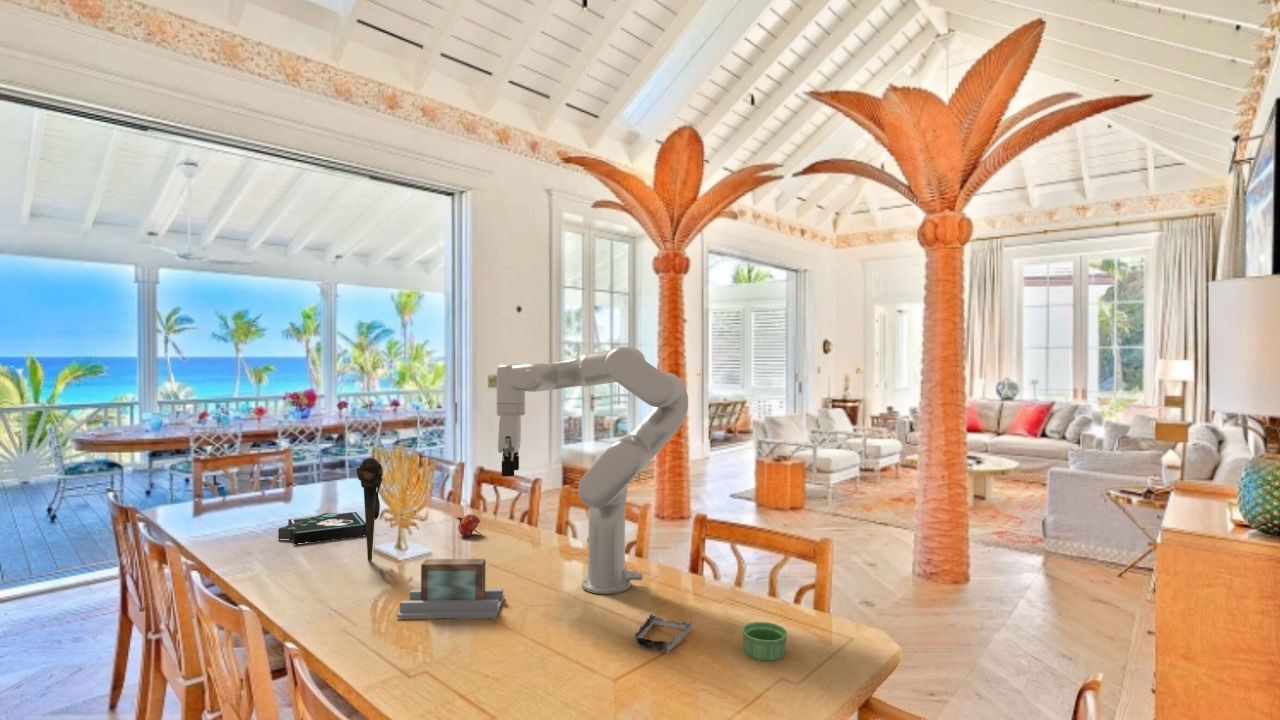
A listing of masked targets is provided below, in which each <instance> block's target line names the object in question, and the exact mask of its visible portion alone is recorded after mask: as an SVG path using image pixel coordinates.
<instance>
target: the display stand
mask: <svg viewBox="0 0 1280 720" xmlns="http://www.w3.org/2000/svg"><path fill="white" fill-rule="evenodd" d="M504 600H505V594H504V588H485V600H421V589H411V590H410V591H409V600H401V601H400V602H399V612H398V613H397V615H396V619H397V618H411V619H410V620H434V619H433V618H440V619H439V620H442V619H441V618H455V619H457V618H458V620H459V619H462V620H463V619H496V618H497V616H498V614H499V612H500V609H501V608H500V607H502V605H503V603H504ZM412 618H414V619H412ZM415 618H417V619H415ZM419 618H421V619H419ZM428 618H429V619H428ZM431 618H432V619H431Z"/></svg>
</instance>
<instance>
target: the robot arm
mask: <svg viewBox="0 0 1280 720" xmlns="http://www.w3.org/2000/svg"><path fill="white" fill-rule="evenodd" d="M614 383H617V384H619V385H620V386H622V387H623V388H625V389H626V390H627V391H628V392H630V393H631V394H632V395H634V396H636V397H637V398H638V399H640V400H641V401H642V402H643V403H646V404H647V405H648V406H651V407H653V408H652V409H651V410H650V412H649V413H648V414H647V415H645V417H643V419H642V420H641V421H640V423H639V424H638V425H637V426H636V427H635V428H634V429H633V430H632V431H631V432H630V433H628V434H627V435H626V436H624V437H622V438H620V439H618V440H616V441H614V442H613V443H612V444H611V445H609V447H608V448H607V449H606V450H605V451H604V452H603V453H602V454H601V456H600V457H598V459H597V460H596V461H595V462H594V463H593V464H592V466H591V467H589V468H588V469H587V471H586V472H585V473H584V475H583V474H582V477H581V478H580V481H579V483H578V489H577V492H578V495H579V499H580V501H581V502H582V503H583V504H584V505H585V506H586V507H588V508H589V509H588V538H587V539H588V540H587V541H588V543H587V545H588V546H587V548H588V549H587V553H588V556H587V557H588V559H587V560H588V561H587V562H588V563H587V564H588V565H587V566H588V567H587V577H585V578H584V579H582V581H581V586H582V588H583V590H585V591H587V592H589V593H593V594H599V595H612V594H614V595H615V594H619V593H622V592H625V591H627V590H628V589H630V587H631V583H632V582H631V581H643V572H640V571H638V570H629V569H627V565H626V564H625V563H626V508H627V507H626V506H627V497H628V485H629V484H630V483H631V482H632V481H633V480H634V478H635V477H636V476H637V475H638V474H639V473H641V472H642V471H644V470H645V469H646V468H647V467H648V465H649V464H650V462H652V460H653V459H654V458H655V456H656V455H657V454H658V453H659V452H661V450H662V449H663V448H664V447H665V446H666V444H667V443H668V442H669V440H671V439H672V438H673V436H674V435H675V434H676V433H677V431H678V430H679V429H680V428H681V426H682V425H683V423H684V421H685V419H686V416H687V413H688V408H689V395H688V392H687V388H686V386H685V383H684V382H683V380H682V379H681V378H680V377H679V376H677V375H676V374H673V373H672V372H663V371H661V370H659V369H658V368H656V367H655V366H653V365H652V364H650V363H649V362H648V361H646V358H645V356H644V354H643V352H641V350H639V349H637V348H635V347H631V346H630V347H628V346H620V347H616V348H614V349H610V350H605V351H604V350H603V351H597V352H590V353H584V354H580V355H579V356H578V357H576V358H572V359H568V360H562V361H558V362H557V361H556V362H548V363H528V364H515V363H514V364H513V363H512V364H511V363H509V364H508V363H505V364H500V365H498V367H497V369H496V416H498V417H499V420H498V437H497V438H498V439H497V440H498V441H497V452H498V453H499V454H501V453H502V454H501V455H502V457H501V477H514V476H515V471H519V469H520V455H519V453H520V452H519V450H520V448H521V440H522V439H521V436H522V435H521V433H522V428H521V427H522V425H521V424H522V423H521V422H522V416H525V415H526V392H531V393H536V392H545V391H548V392H549V391H553V390H561V389H567V388H573V387H584V388H585V387H591V386H592V387H593V386H598V385H605V384H614Z"/></svg>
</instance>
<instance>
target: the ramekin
mask: <svg viewBox="0 0 1280 720" xmlns="http://www.w3.org/2000/svg"><path fill="white" fill-rule="evenodd" d="M741 632H742V636H743V648H744V649H743V650H744V653H745V654H746V655H747V656H748V655H749V656H748V657H750V658H752V659H754V660H757V659H758V660H757V661H762V660H763V662H774V661H773V660H775V661H779V660H781V659H782V658H783V657H784V656H785V654H786V653H785V652H786V643H787V639H788V631H787V630H786V629H785V628H784V627H783V626H781V625H779V624H776V623H772V622H765V621H758V622H757V621H755V622H749V623H747V624H745V625H744V626H743V627H742V629H741Z"/></svg>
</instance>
